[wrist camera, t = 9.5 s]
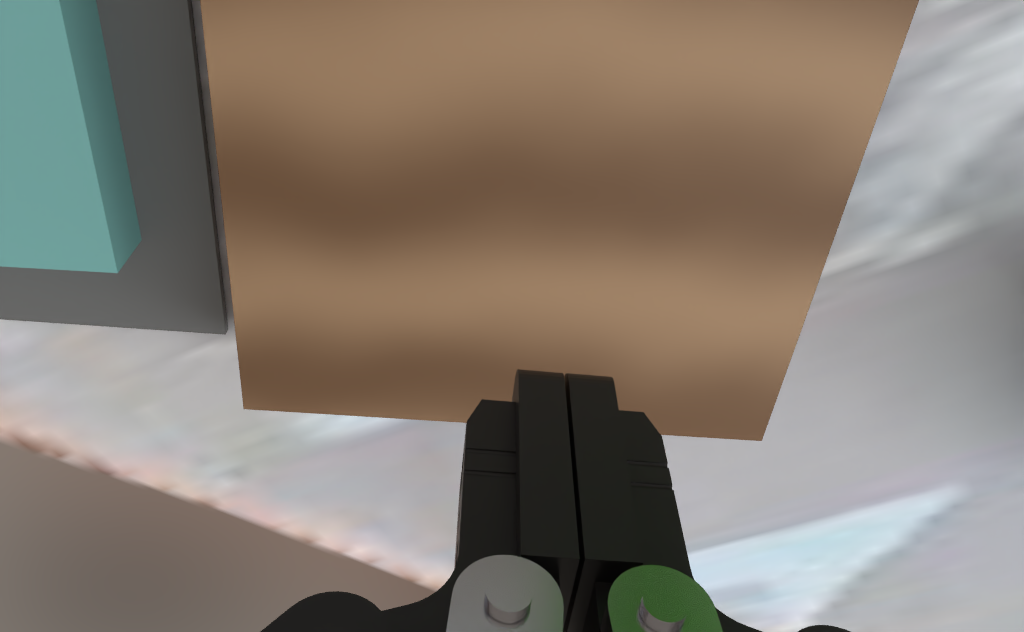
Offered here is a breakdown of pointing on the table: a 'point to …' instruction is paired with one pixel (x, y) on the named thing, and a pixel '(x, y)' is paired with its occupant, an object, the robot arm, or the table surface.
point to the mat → (146, 190)
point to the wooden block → (536, 195)
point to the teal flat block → (61, 142)
